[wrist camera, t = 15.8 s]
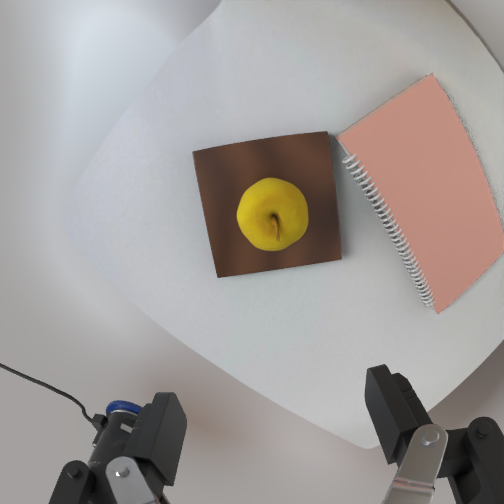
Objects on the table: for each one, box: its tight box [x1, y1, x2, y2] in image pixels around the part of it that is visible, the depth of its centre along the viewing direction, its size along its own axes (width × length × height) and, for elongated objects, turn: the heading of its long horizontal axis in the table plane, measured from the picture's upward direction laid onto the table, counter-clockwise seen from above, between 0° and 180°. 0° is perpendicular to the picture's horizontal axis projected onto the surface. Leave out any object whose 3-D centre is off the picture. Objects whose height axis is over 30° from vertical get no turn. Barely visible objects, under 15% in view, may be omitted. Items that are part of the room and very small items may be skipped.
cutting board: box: [192, 131, 342, 278], centre depth 30 cm, size 14×14×2 cm
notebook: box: [335, 73, 504, 314], centre depth 29 cm, size 27×17×2 cm, turn 38°
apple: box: [237, 178, 308, 251], centre depth 26 cm, size 6×6×8 cm
